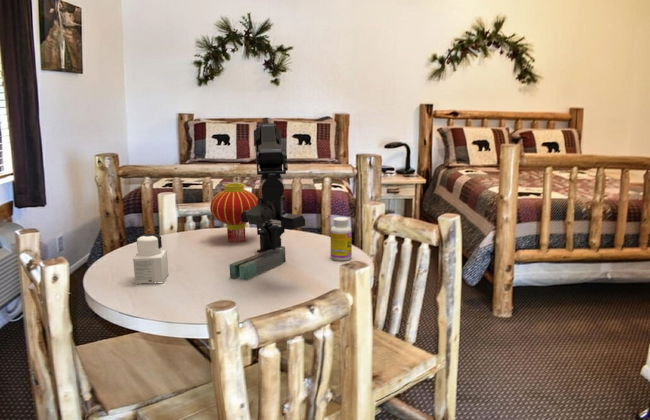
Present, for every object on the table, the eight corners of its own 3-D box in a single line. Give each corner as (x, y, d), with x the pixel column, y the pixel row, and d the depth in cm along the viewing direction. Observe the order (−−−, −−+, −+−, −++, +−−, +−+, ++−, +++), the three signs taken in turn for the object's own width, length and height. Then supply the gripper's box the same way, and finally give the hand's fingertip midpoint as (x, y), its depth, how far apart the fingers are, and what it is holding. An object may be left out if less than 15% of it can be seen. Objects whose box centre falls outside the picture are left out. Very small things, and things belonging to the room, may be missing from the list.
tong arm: (239, 279, 156) (239, 265, 155) (277, 262, 171) (277, 249, 170) (245, 280, 155) (245, 266, 154) (283, 263, 170) (282, 250, 169)
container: (141, 275, 161) (138, 232, 158) (168, 274, 162) (165, 231, 159) (135, 284, 154) (131, 239, 151) (163, 283, 154) (160, 238, 151)
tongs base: (230, 277, 158) (229, 262, 157) (277, 259, 176) (277, 245, 175) (239, 280, 156) (239, 265, 155) (287, 261, 173) (287, 247, 173)
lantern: (201, 242, 196) (196, 157, 190) (236, 232, 210) (232, 152, 203) (237, 249, 186) (233, 160, 180) (270, 238, 200) (268, 155, 194)
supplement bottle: (349, 261, 172) (349, 221, 169) (328, 260, 173) (328, 220, 171) (353, 255, 178) (353, 216, 176) (332, 254, 180) (332, 215, 177)
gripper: (225, 195, 150) (228, 250, 153) (279, 201, 140) (281, 261, 143) (253, 188, 159) (255, 241, 162) (305, 195, 149) (306, 251, 152)
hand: (273, 248), depth 155 cm, fingers closed
